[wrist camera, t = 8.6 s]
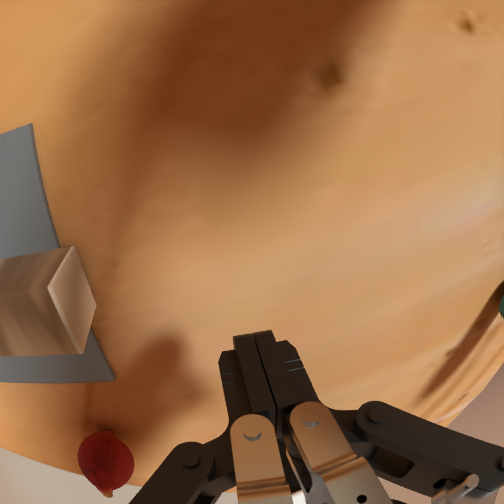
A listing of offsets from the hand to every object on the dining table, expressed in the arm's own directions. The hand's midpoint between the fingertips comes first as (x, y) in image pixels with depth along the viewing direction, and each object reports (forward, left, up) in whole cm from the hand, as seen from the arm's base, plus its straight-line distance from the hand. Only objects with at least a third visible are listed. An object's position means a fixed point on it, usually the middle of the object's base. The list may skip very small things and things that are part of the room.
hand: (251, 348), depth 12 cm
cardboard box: (0, -9, -6) cm, 11 cm away
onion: (+19, -15, -9) cm, 26 cm away
